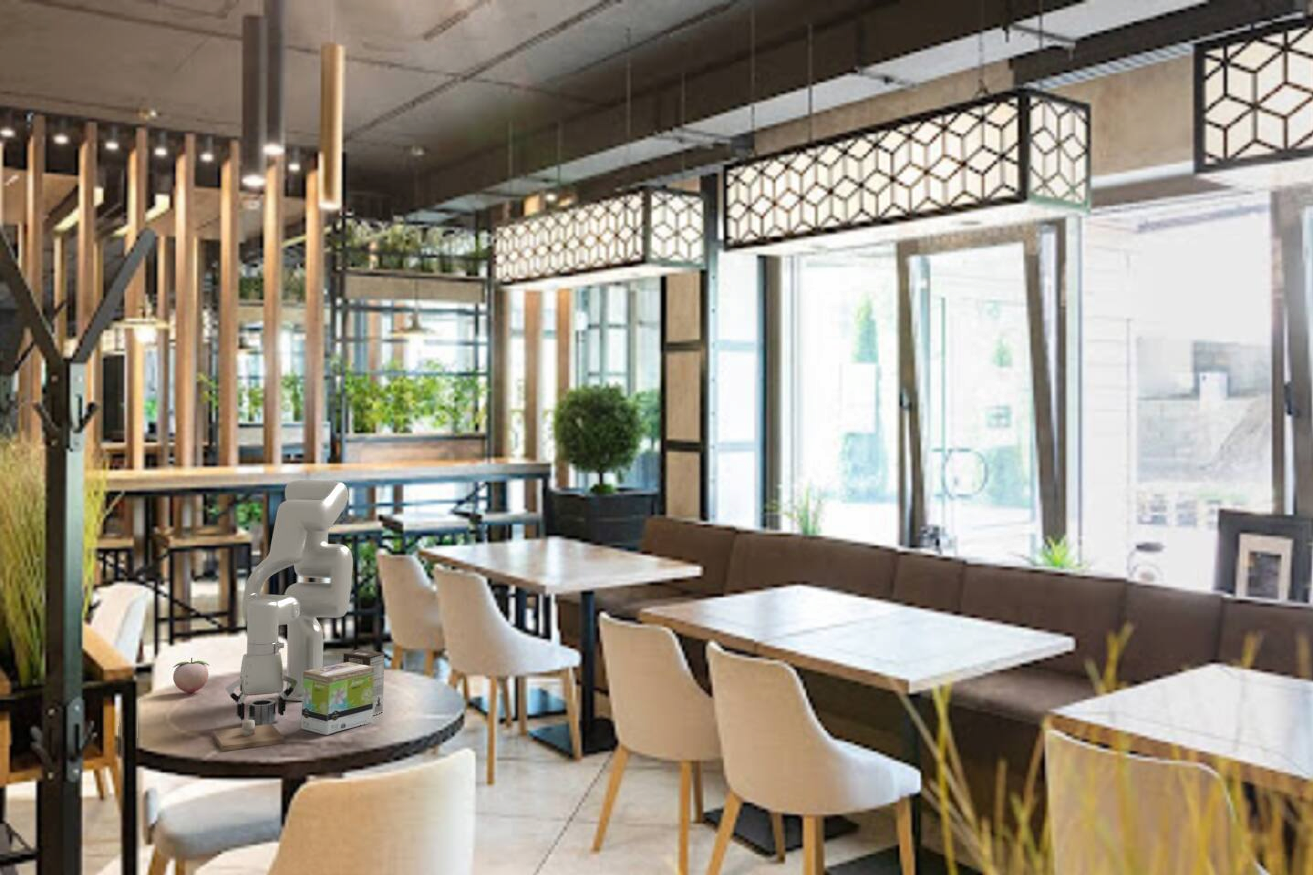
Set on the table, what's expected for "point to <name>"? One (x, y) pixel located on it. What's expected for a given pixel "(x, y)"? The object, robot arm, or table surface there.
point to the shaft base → (248, 736)
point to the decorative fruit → (190, 675)
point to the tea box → (337, 697)
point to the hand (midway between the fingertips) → (261, 716)
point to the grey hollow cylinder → (262, 711)
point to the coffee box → (378, 663)
